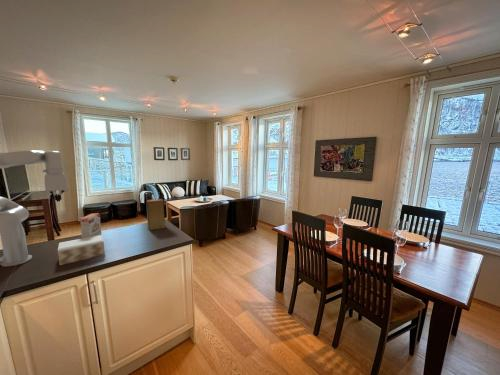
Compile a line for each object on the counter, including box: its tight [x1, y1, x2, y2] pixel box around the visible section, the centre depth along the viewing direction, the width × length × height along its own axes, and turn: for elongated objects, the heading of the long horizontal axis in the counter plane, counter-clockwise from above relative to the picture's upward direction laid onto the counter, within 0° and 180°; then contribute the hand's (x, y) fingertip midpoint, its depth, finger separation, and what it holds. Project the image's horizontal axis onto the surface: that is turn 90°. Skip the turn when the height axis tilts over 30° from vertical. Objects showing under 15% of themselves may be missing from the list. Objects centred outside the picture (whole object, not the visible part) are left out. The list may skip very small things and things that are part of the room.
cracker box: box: [79, 212, 102, 239], centre depth 154 cm, size 14×6×21 cm, turn 8°
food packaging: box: [146, 198, 166, 231], centre depth 188 cm, size 13×9×25 cm
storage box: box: [57, 242, 106, 266], centre depth 137 cm, size 22×14×8 cm, turn 129°
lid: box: [57, 234, 105, 253], centre depth 136 cm, size 22×14×1 cm, turn 129°
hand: (58, 201), depth 133 cm, fingers closed
